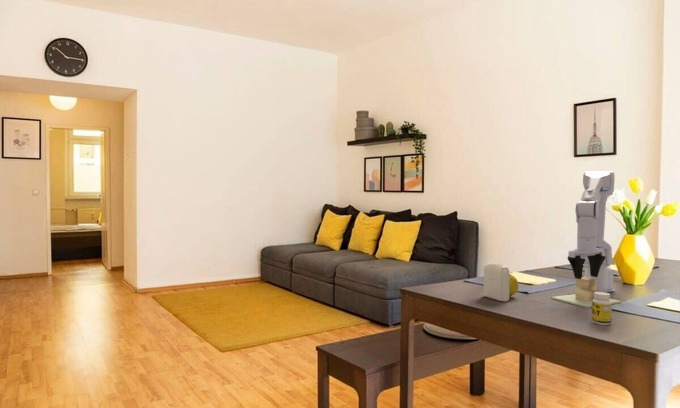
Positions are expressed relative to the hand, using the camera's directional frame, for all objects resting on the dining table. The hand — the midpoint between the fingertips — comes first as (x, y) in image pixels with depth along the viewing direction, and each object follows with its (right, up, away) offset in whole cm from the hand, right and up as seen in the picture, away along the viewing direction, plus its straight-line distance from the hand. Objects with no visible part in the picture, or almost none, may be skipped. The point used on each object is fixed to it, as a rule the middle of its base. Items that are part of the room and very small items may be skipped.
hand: (586, 277), depth 166 cm
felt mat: (0, -8, 0) cm, 8 cm away
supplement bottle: (-9, -9, -27) cm, 30 cm away
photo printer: (-29, -8, +4) cm, 30 cm away
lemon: (-24, -8, +6) cm, 26 cm away
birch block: (0, -7, 0) cm, 7 cm away
